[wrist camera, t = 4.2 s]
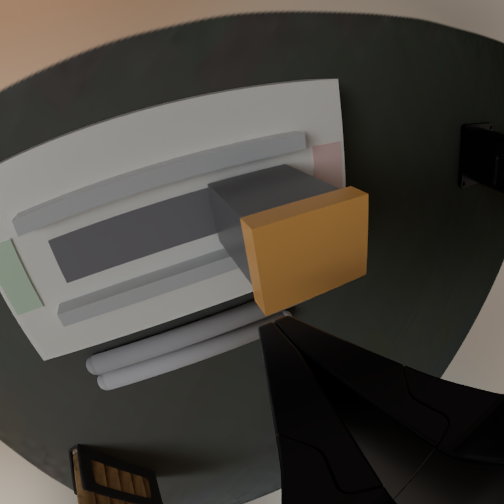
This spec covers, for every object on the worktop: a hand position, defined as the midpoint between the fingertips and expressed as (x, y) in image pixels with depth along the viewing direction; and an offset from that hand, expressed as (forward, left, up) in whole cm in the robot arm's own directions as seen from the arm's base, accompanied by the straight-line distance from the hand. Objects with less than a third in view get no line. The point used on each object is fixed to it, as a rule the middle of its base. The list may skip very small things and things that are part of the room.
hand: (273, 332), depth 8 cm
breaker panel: (+1, 0, -12) cm, 12 cm away
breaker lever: (-3, 0, -8) cm, 9 cm away
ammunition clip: (+15, +24, -12) cm, 31 cm away
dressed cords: (+1, +9, -12) cm, 15 cm away
